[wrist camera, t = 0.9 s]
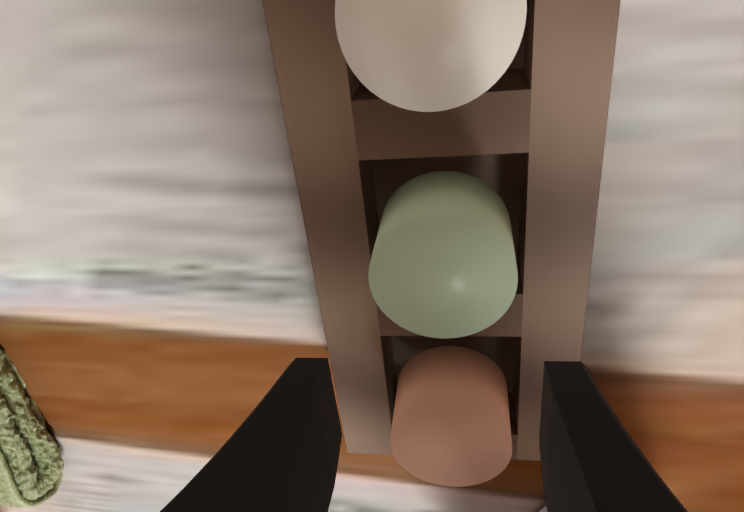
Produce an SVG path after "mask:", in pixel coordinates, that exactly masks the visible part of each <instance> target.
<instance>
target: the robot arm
mask: <svg viewBox="0 0 744 512" xmlns="http://www.w3.org/2000/svg"><path fill="white" fill-rule="evenodd" d="M341 437H342V431H341V426H340V421H339V416H338V410H337V405H336V400H335V395H334V390H333V384H332V379H331V374H330V369H329V363H328V358H296V359H295V360H294V361H293V362H292V363H291V364H290V365H289V366H288V368H287V369H286V370H285V371H284V373H283V374H282V375H281V376H280V378H279V379H278V380H277V382H276V383H275V384H274V385H273V387H272V388H271V389H270V390H269V392H268V393H267V394H266V395H265V397H264V398H263V399H262V400H261V402H260V403H259V404H258V405H257V407H256V408H255V409H254V410H253V412H252V413H251V414H250V415H249V416H248V417H247V419H246V420H245V421H244V422H243V423H242V425H241V426H240V427H239V428H238V429H237V430H236V432H235V433H234V434H233V435H232V436H231V437H230V439H229V440H228V441H227V442H226V443H225V444H224V446H223V447H222V448H221V449H220V450H219V451H218V452H217V453H216V454H215V456H214V457H213V458H212V459H211V460H210V461H209V462H208V463H207V464H206V465H205V466H204V467H203V468H202V469H201V470H200V472H199V473H198V474H197V475H196V476H195V477H194V478H193V479H192V480H191V481H190V482H189V483H188V484H187V485H186V486H185V487H184V488H183V490H182V491H181V492H180V493H179V494H178V495H176V496H175V497H174V498H173V499H172V500H171V501H170V502H169V503H168V504H167V505H166V506H165V507H164V508H163V509H162V510H161V511H160V512H328V508H329V504H330V501H331V497H332V493H333V489H334V485H335V478H336V472H337V466H338V459H339V452H340V444H341ZM539 448H540V458H541V469H542V479H543V489H544V497H545V503H546V506H545V507H544V508H543V509H542V510H540V511H539V512H687V510H686V509H685V508H684V507H683V505H682V504H681V503H680V502H679V500H678V499H677V498H676V497H675V496H674V494H673V493H672V492H671V491H670V489H669V488H668V487H667V485H666V484H665V483H664V482H663V480H662V479H661V478H660V476H659V475H658V474H657V473H656V471H655V470H654V468H653V467H652V466H651V464H650V463H649V462H648V460H647V459H646V458H645V456H644V455H643V453H642V452H641V451H640V449H639V448H638V447H637V445H636V444H635V442H634V441H633V440H632V438H631V437H630V435H629V434H628V432H627V431H626V430H625V428H624V427H623V425H622V424H621V422H620V421H619V419H618V418H617V416H616V415H615V413H614V412H613V410H612V409H611V407H610V406H609V404H608V402H607V401H606V399H605V398H604V396H603V394H602V393H601V391H600V389H599V388H598V386H597V384H596V383H595V381H594V379H593V378H592V376H591V374H590V372H589V370H588V368H587V367H586V366H585V365H584V364H583V363H582V362H581V361H544V372H543V387H542V402H541V417H540V431H539Z"/></svg>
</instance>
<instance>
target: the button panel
mask: <svg viewBox="0 0 744 512" xmlns="http://www.w3.org/2000/svg"><path fill="white" fill-rule="evenodd" d="M262 1H263V6H264V12H265V17H266V22H267V27H268V33H269V38H270V43H271V49H272V54H273V59H274V65H275V70H276V75H277V81H278V86H279V91H280V96H281V102H282V107H283V112H284V118H285V123H286V128H287V134H288V139H289V144H290V150H291V155H292V160H293V166H294V171H295V176H296V181H297V187H298V192H299V197H300V203H301V208H302V213H303V219H304V224H305V229H306V235H307V240H308V245H309V251H310V256H311V261H312V266H313V272H314V277H315V282H316V288H317V293H318V298H319V304H320V309H321V314H322V320H323V325H324V330H325V335H326V341H327V346H328V351H329V357H330V362H331V367H332V373H333V378H334V383H335V389H336V394H337V399H338V405H339V410H340V415H341V420H342V426H343V431H344V436H345V442H346V447H347V452H348V453H360V454H384V455H393V454H392V451H391V447H390V436H391V429H392V421H393V414H394V407H395V399H396V392H397V385H398V378H399V374H400V371H401V369H402V368H403V366H404V365H405V363H406V362H407V361H408V360H409V359H410V358H412V357H413V356H415V355H416V354H418V353H420V352H422V351H424V350H427V349H430V348H434V347H441V346H458V347H465V348H468V349H472V350H475V351H477V352H480V353H482V354H484V355H486V356H487V357H489V358H490V359H491V360H493V361H494V362H495V363H496V364H497V365H498V366H499V368H500V369H501V370H502V372H503V374H504V376H505V379H506V382H507V393H508V404H509V416H510V427H511V439H512V456H511V459H510V460H529V461H541V458H540V448H539V431H540V417H541V402H542V387H543V372H544V361H580V360H581V351H582V342H583V333H584V324H585V315H586V306H587V297H588V288H589V279H590V270H591V261H592V252H593V243H594V234H595V225H596V216H597V207H598V198H599V189H600V179H601V170H602V161H603V152H604V143H605V134H606V125H607V116H608V107H609V98H610V89H611V80H612V71H613V62H614V53H615V44H616V35H617V26H618V17H619V8H620V0H527V14H526V24H525V28H524V33H523V37H522V40H521V43H520V46H519V48H518V51H517V53H516V55H515V57H514V59H513V61H512V62H511V64H510V65H509V67H508V68H507V70H506V71H505V73H504V74H503V75H502V76H501V77H500V79H499V80H498V81H497V82H496V83H495V84H494V85H493V86H492V87H491V88H490V89H488V90H487V91H486V92H485V93H483V94H482V95H480V96H479V97H478V98H476V99H474V100H472V101H470V102H468V103H466V104H464V105H461V106H459V107H456V108H452V109H448V110H444V111H436V112H419V111H412V110H407V109H403V108H400V107H397V106H395V105H392V104H390V103H388V102H386V101H384V100H382V99H381V98H379V97H378V96H376V95H375V94H374V93H372V92H371V91H370V90H368V89H367V88H366V87H365V86H364V85H363V84H362V83H361V82H360V80H359V79H358V78H357V77H356V75H355V74H354V73H353V71H352V70H351V68H350V67H349V65H348V63H347V61H346V59H345V57H344V55H343V53H342V50H341V47H340V44H339V41H338V37H337V32H336V26H335V0H262ZM436 171H454V172H461V173H464V174H468V175H471V176H473V177H476V178H478V179H480V180H481V181H483V182H485V183H486V184H488V185H489V186H490V187H492V188H493V189H494V190H495V191H496V192H497V193H498V195H499V196H500V197H501V199H502V200H503V202H504V204H505V205H506V208H507V210H508V213H509V217H510V222H511V229H512V236H513V243H514V250H515V257H516V264H517V271H518V285H517V290H516V294H515V297H514V299H513V301H512V304H511V305H510V307H509V308H508V310H507V311H506V312H505V313H504V315H503V316H502V317H501V318H500V319H498V320H497V321H496V322H495V323H494V324H492V325H491V326H489V327H488V328H486V329H484V330H482V331H480V332H477V333H474V334H472V335H468V336H464V337H458V338H445V339H444V338H432V337H426V336H422V335H419V334H416V333H413V332H410V331H408V330H406V329H404V328H402V327H401V326H399V325H397V324H396V323H394V322H393V321H392V320H391V319H390V318H388V317H387V316H386V315H385V314H384V313H383V312H382V310H381V309H380V308H379V306H378V305H377V303H376V301H375V300H374V298H373V295H372V293H371V290H370V285H369V276H368V273H369V265H370V261H371V257H372V253H373V249H374V245H375V241H376V238H377V234H378V230H379V226H380V222H381V218H382V214H383V211H384V208H385V206H386V204H387V202H388V200H389V199H390V197H391V196H392V195H393V194H394V192H395V191H396V190H397V189H398V188H399V187H401V186H402V185H403V184H405V183H406V182H407V181H409V180H411V179H413V178H415V177H417V176H420V175H423V174H426V173H430V172H436Z"/></svg>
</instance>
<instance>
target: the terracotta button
mask: <svg viewBox="0 0 744 512" xmlns="http://www.w3.org/2000/svg"><path fill="white" fill-rule="evenodd" d="M390 447H391V451H392V454H393V456H394V458H395V459H396V461H397V462H398V463H399V465H400V466H401V467H402V468H403V469H405V470H406V471H407V472H408V473H410V474H411V475H413V476H415V477H417V478H419V479H421V480H423V481H426V482H429V483H432V484H436V485H441V486H449V487H464V486H472V485H477V484H480V483H483V482H486V481H488V480H490V479H492V478H494V477H496V476H497V475H499V474H500V473H501V472H502V471H503V470H504V469H505V468H506V467H507V465H508V463H509V462H510V459H511V456H512V439H511V427H510V416H509V404H508V393H507V382H506V379H505V376H504V374H503V372H502V370H501V369H500V368H499V366H498V365H497V364H496V363H495V362H494V361H493V360H491V359H490V358H489V357H487V356H486V355H484V354H482V353H480V352H477V351H475V350H472V349H468V348H465V347H458V346H441V347H434V348H430V349H427V350H424V351H422V352H420V353H418V354H416V355H415V356H413V357H412V358H410V359H409V360H408V361H407V362H406V363H405V365H404V366H403V368H402V369H401V371H400V374H399V378H398V385H397V392H396V399H395V407H394V414H393V421H392V429H391V436H390Z"/></svg>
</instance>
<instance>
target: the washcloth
mask: <svg viewBox="0 0 744 512" xmlns="http://www.w3.org/2000/svg"><path fill="white" fill-rule="evenodd" d="M25 387H26V385H25V383H24V382H23V380H22V379H21V377H20V376H19V374H18V372H17V370H16V368H15V366H14V365H13V364H12V362H11V361H10V360H9V358H8V357H7V355H6V353H5V352H4V351H3V350H2V349H1V347H0V505H7V506H10V507H19V508H22V507H35V506H38V505H40V504H42V503H44V502H45V501H47V500H48V499H50V498H51V497H52V496H53V495H54V494H55V493H56V492H57V490H58V488H59V486H60V484H61V479H62V471H63V468H64V464H63V460H62V458H61V451H60V449H59V448H58V445H57V444H56V442H55V441H54V439H53V438H52V436H51V435H50V434H49V433H48V431H47V428H46V425H45V422H44V419H43V417H42V415H41V413H40V411H39V409H38V407H37V405H36V403H35V402H34V401H33V400H32V399H31V398H30V397H29V396H28V395H27V393H26V389H25Z"/></svg>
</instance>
